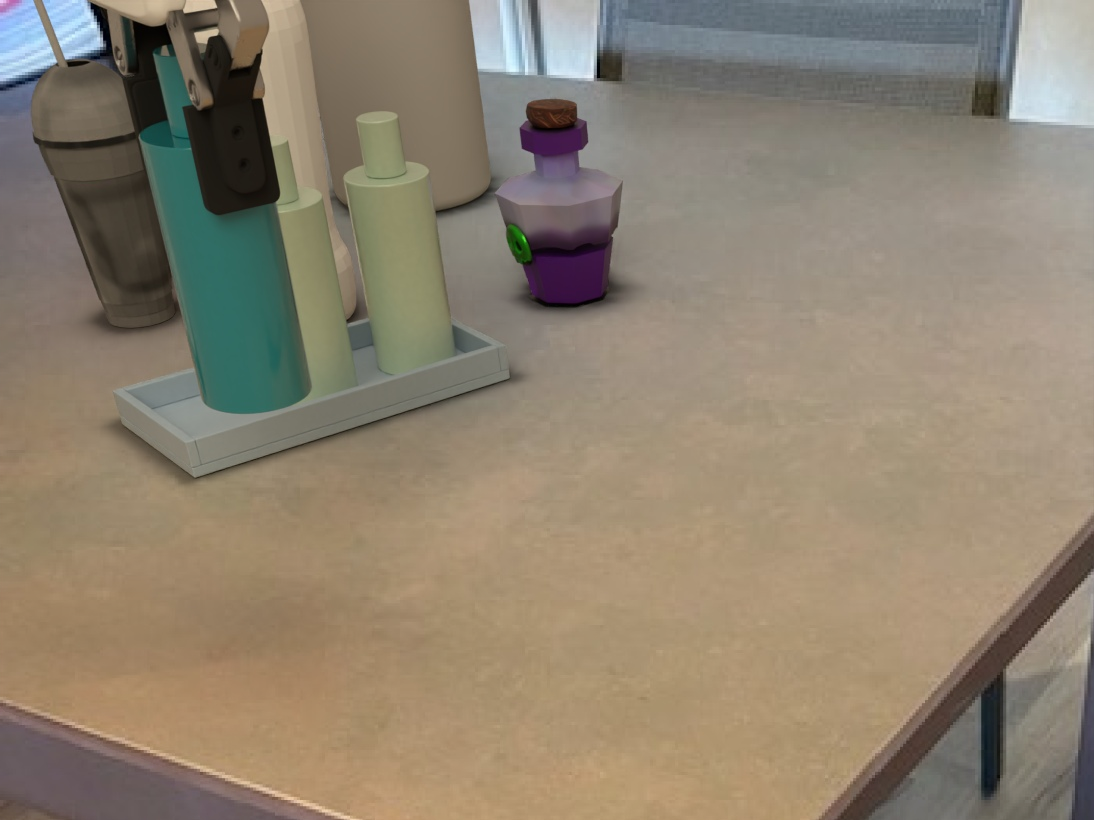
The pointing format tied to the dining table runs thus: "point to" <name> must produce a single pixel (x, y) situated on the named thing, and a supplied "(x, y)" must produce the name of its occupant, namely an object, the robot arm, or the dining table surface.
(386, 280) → the bottle
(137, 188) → the beverage cup
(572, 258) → the potion bottle
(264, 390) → the loose bottle
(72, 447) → the dining table surface
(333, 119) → the cylinder vase
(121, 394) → the tray
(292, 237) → the bottle
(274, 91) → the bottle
